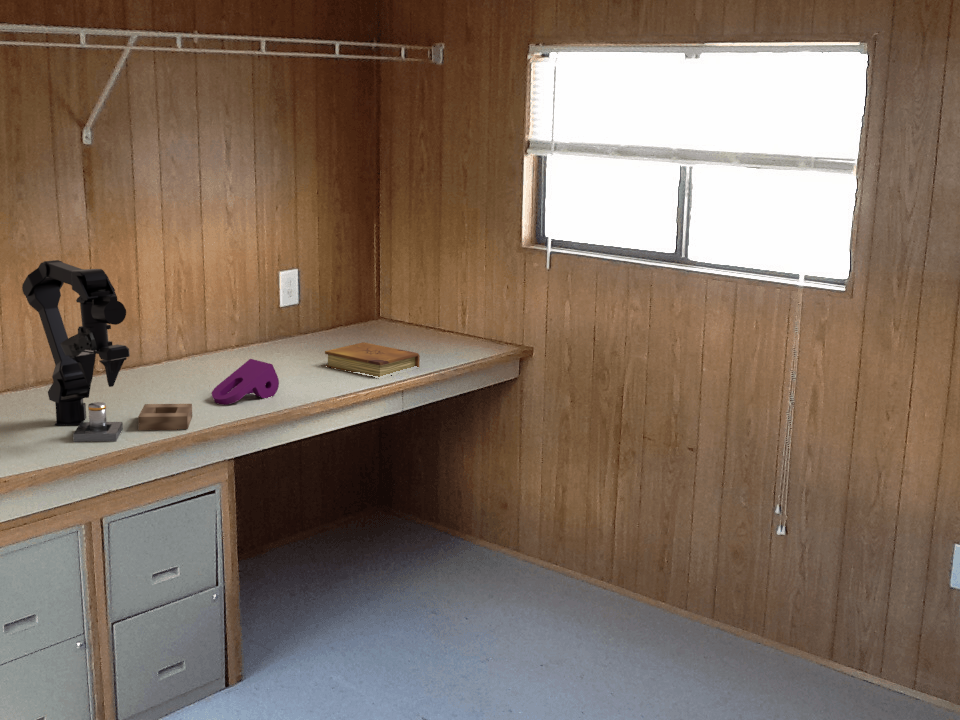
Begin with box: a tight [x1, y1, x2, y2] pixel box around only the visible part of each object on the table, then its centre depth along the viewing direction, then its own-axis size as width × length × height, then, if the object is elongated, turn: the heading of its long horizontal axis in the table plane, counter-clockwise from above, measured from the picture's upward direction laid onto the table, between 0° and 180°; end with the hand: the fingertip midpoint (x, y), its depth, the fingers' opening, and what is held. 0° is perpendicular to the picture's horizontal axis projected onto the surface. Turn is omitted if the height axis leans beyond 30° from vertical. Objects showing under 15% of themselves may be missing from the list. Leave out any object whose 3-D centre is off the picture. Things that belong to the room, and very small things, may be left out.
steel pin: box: [88, 401, 108, 431], centre depth 279 cm, size 4×4×8 cm
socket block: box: [137, 403, 193, 431], centre depth 292 cm, size 12×12×4 cm
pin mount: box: [72, 421, 124, 443], centre depth 280 cm, size 10×10×2 cm
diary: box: [324, 341, 421, 377], centre depth 357 cm, size 23×19×6 cm
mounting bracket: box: [211, 358, 280, 406], centre depth 318 cm, size 10×8×18 cm
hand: (100, 384), depth 277 cm, fingers open, 9 cm apart
